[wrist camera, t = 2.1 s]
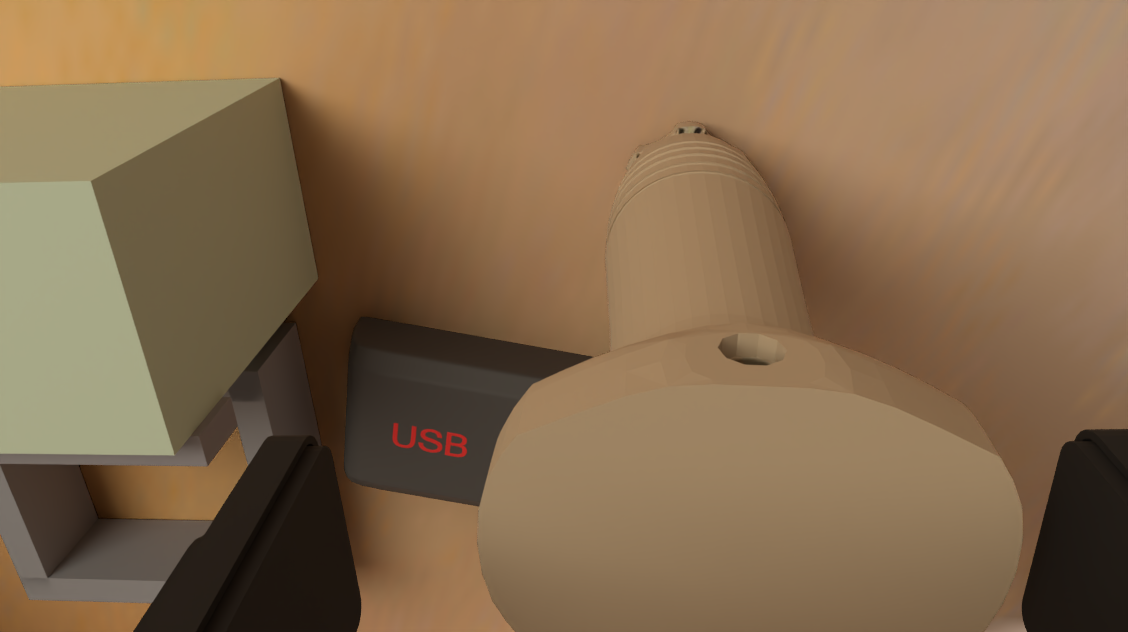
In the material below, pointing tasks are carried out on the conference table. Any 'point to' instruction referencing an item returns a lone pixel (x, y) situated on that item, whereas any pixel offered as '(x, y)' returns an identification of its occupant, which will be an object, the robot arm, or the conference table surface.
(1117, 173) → the conference table surface
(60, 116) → the green box on stand
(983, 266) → the conference table surface
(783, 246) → the handle
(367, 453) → the usb drive
